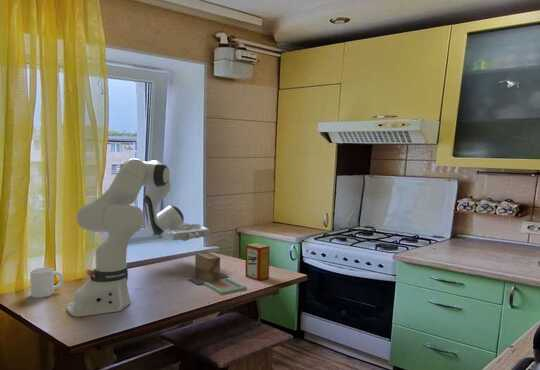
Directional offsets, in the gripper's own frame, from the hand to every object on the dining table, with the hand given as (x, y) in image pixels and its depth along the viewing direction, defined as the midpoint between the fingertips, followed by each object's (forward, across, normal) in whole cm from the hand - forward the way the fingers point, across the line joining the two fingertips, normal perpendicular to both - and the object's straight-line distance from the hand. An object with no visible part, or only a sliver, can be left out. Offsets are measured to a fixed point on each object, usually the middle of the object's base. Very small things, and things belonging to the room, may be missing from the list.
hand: (196, 236), depth 205 cm
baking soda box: (+24, +20, +18) cm, 36 cm away
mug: (-5, -65, +18) cm, 68 cm away
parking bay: (+27, 0, +18) cm, 32 cm away
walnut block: (+11, 0, +18) cm, 21 cm away
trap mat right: (+11, +6, +18) cm, 22 cm away
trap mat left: (+14, -6, +18) cm, 23 cm away
